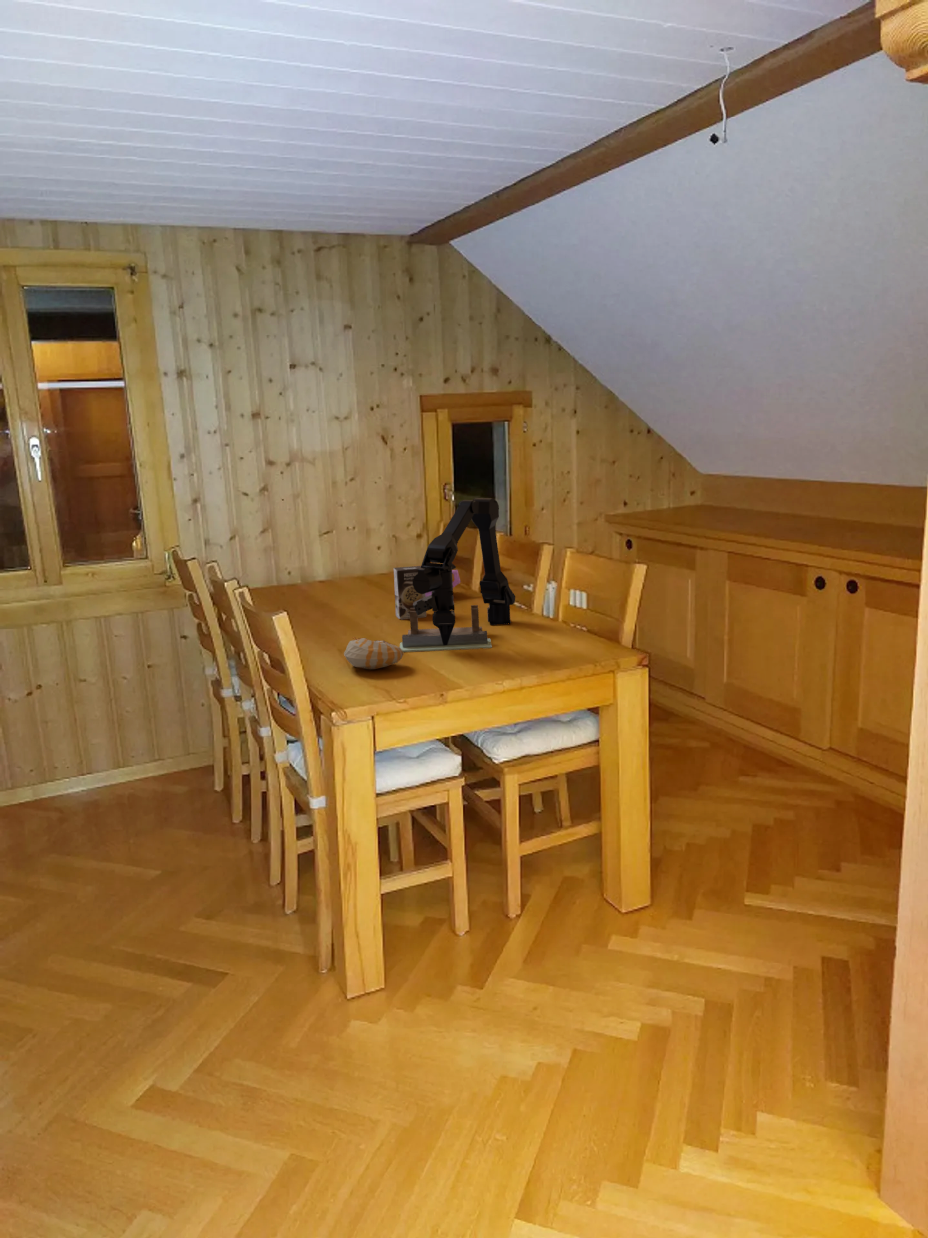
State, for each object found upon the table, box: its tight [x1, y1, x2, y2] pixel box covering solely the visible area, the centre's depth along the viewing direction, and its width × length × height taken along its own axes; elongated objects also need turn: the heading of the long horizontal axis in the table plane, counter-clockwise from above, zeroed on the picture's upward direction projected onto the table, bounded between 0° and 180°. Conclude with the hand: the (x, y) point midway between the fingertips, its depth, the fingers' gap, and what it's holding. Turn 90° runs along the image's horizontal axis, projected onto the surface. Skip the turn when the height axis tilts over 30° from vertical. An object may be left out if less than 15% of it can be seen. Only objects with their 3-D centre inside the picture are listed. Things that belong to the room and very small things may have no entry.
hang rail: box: [401, 630, 488, 648], centre depth 265 cm, size 24×3×3 cm, turn 91°
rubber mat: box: [399, 637, 493, 653], centre depth 266 cm, size 26×9×1 cm, turn 91°
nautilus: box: [343, 636, 405, 670], centre depth 249 cm, size 8×22×15 cm
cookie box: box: [393, 565, 427, 620], centre depth 302 cm, size 9×6×16 cm
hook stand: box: [407, 604, 483, 634], centre depth 275 cm, size 22×8×8 cm, turn 91°
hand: (445, 640), depth 265 cm, fingers open, 9 cm apart
